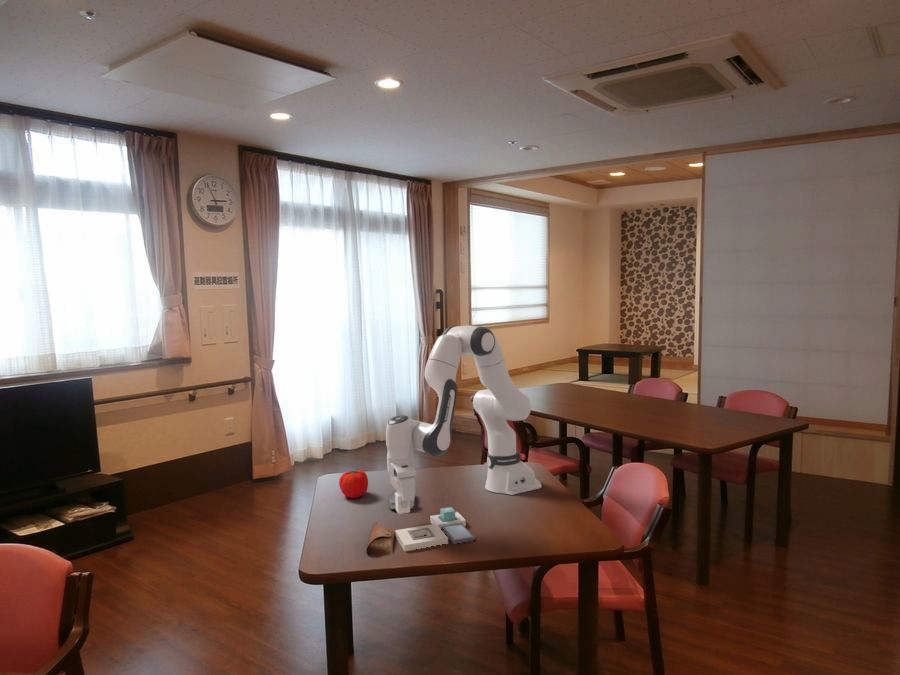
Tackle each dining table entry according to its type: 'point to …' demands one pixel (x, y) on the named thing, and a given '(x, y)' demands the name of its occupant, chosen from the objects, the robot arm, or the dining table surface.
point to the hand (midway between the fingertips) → (402, 504)
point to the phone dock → (454, 528)
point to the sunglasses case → (380, 540)
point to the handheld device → (392, 501)
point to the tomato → (354, 483)
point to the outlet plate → (432, 539)
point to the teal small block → (447, 514)
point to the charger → (399, 505)
